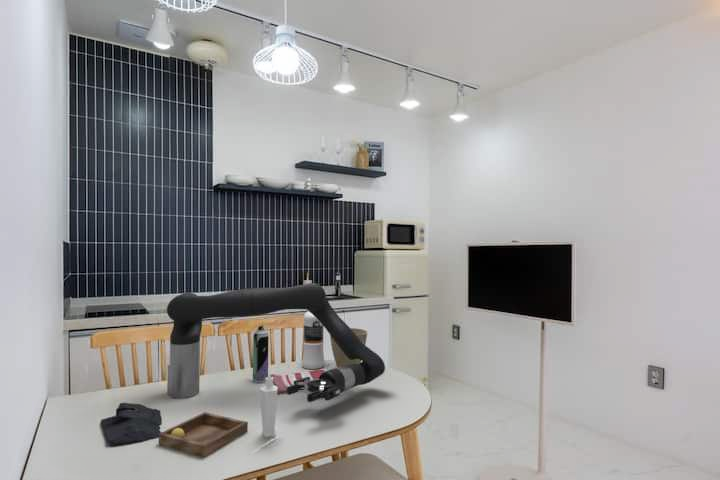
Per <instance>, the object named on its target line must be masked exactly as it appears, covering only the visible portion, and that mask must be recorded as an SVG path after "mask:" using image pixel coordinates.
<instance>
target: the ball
mask: <svg viewBox="0 0 720 480" xmlns="http://www.w3.org/2000/svg"><path fill="white" fill-rule="evenodd" d="M171 435H174V436H177V437H181V438H184V431H183V429H181V428H176V429H174V430H173V431H172V432H171Z"/></svg>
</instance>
